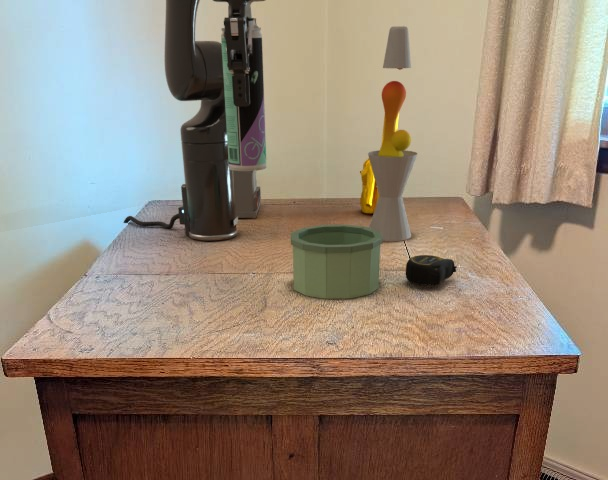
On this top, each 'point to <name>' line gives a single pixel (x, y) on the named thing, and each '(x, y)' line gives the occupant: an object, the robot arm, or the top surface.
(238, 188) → the tall labeled grey carton
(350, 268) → the hollow green tube
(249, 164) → the spray can
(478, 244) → the top surface
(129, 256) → the top surface
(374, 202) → the figure statuette
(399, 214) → the lava lamp
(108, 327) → the top surface
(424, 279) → the tape measure
